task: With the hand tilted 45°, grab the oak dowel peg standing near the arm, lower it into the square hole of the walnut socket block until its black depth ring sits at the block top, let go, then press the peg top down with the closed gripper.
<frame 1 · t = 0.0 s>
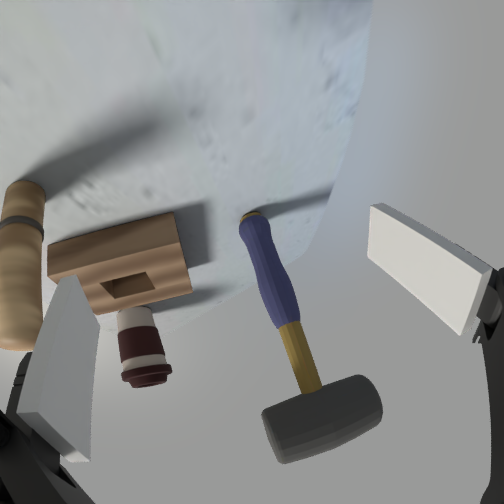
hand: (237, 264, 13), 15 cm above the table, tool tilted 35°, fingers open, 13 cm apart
coffee cup: (133, 311, 58), on the table
oak peg: (25, 196, 23), on the table
walnut socket block: (124, 259, 39), on the table
rubber mallet: (249, 216, 40), on the table
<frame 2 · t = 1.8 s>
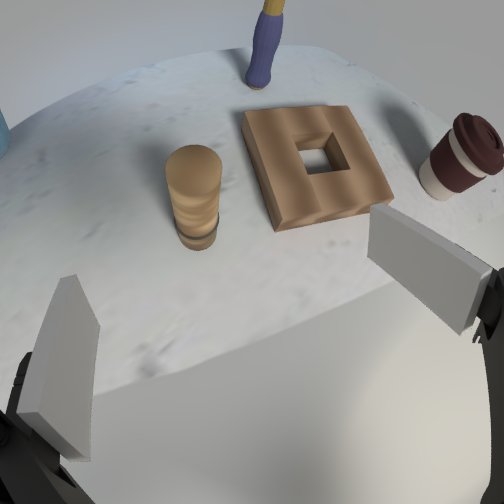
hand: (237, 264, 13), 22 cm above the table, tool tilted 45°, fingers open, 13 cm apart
coffee cup: (433, 183, 44), on the table
oak peg: (197, 232, 36), on the table
walnut socket block: (312, 168, 41), on the table
rubber mallet: (256, 85, 45), on the table
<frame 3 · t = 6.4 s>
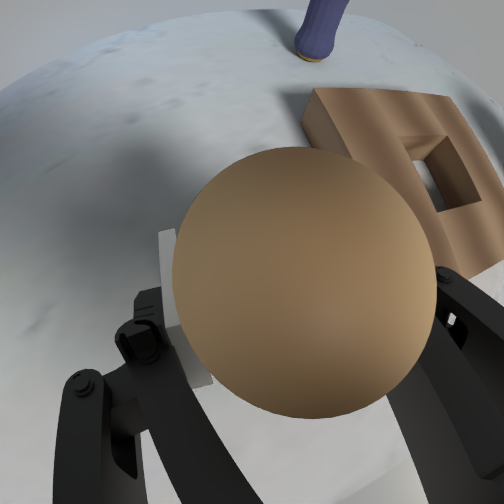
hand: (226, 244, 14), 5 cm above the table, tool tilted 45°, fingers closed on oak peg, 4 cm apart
oak peg: (239, 329, 18), on the table, touching gripper
walnut socket block: (416, 192, 23), on the table
rubber mallet: (309, 57, 27), on the table
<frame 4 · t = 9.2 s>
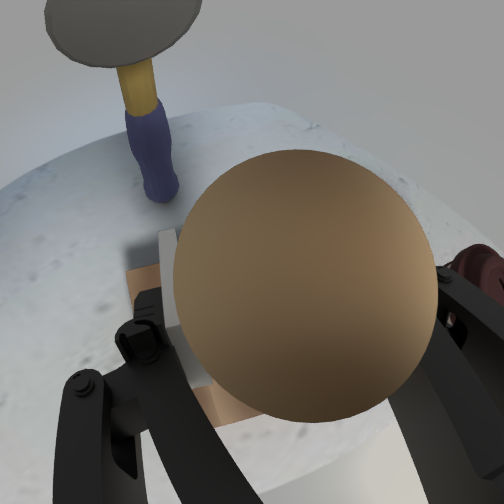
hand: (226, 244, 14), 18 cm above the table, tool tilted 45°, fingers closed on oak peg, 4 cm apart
coffee cup: (410, 316, 34), on the table
oak peg: (240, 331, 18), point 14 cm above the table, touching gripper
walnut socket block: (227, 336, 31), on the table
rubber mallet: (163, 193, 35), on the table
when the fingers open (7 cm above the table, at t = 12.1 s): oak peg drops 2 cm, resting in walnut socket block.
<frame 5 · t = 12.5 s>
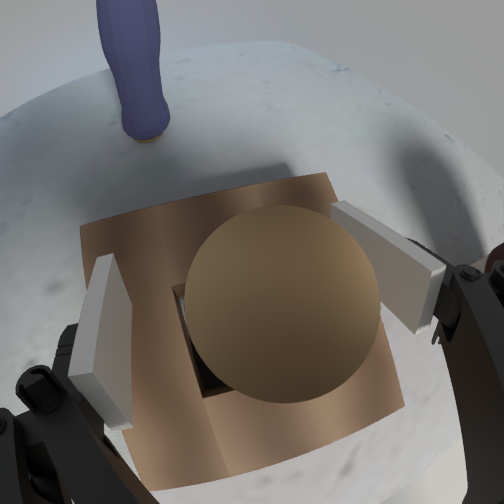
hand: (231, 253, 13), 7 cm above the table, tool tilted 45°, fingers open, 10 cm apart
coffee cup: (476, 302, 23), on the table
oak peg: (236, 333, 20), resting in walnut socket block
walnut socket block: (236, 331, 20), on the table
rubber mallet: (149, 132, 24), on the table
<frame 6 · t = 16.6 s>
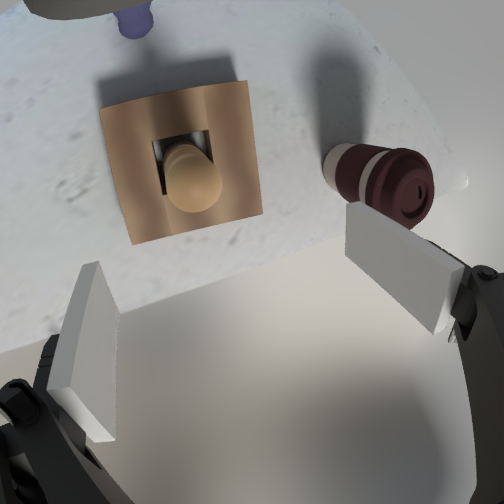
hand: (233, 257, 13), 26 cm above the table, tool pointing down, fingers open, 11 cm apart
coffee cup: (342, 166, 42), on the table
oak peg: (181, 157, 35), resting in walnut socket block
walnut socket block: (182, 157, 35), on the table
rubber mallet: (136, 27, 26), on the table
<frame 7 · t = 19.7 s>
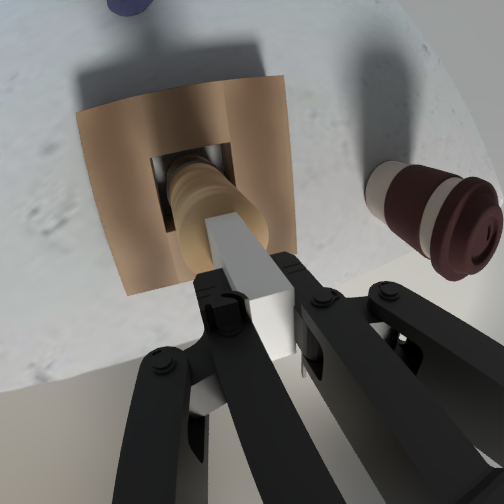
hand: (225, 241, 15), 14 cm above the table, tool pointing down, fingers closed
coffee cup: (385, 188, 34), on the table
oak peg: (190, 178, 27), resting in walnut socket block, touching gripper
walnut socket block: (191, 177, 27), on the table
rubber mallet: (132, 2, 18), on the table
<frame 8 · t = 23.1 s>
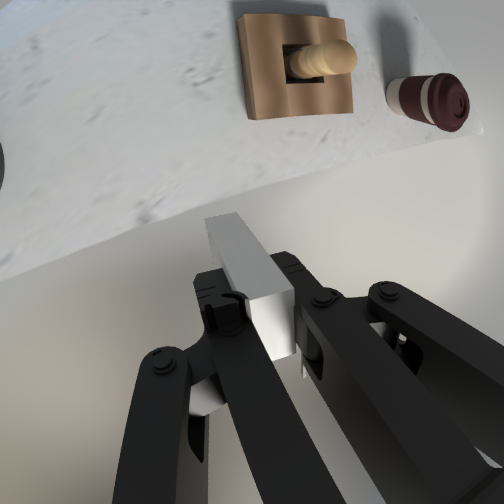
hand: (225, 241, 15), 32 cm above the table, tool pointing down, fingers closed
coffee cup: (397, 96, 48), on the table
oak peg: (292, 66, 41), resting in walnut socket block
walnut socket block: (292, 66, 41), on the table
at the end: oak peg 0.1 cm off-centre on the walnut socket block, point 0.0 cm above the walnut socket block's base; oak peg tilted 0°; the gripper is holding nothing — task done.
